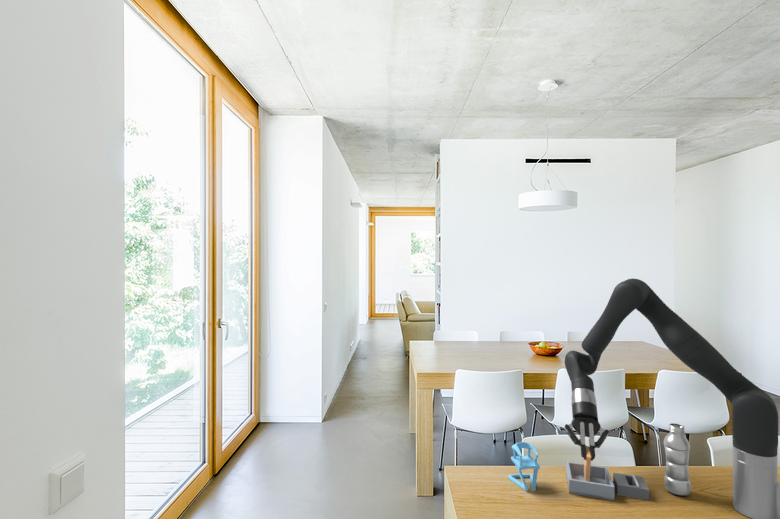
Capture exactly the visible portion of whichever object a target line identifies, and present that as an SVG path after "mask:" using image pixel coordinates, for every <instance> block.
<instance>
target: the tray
mask: <svg viewBox="0 0 780 519" xmlns="http://www.w3.org/2000/svg"><path fill="white" fill-rule="evenodd" d="M565 476H566V482H567V487H568V488H567V489H568V493H569V494H572V495H578V496H584V497H590V498H595V499H601V500H606V501H612V502H615V486H614V483H613V478H612V477H611V473H610V471H609V469H608V467H607V466H601V465H595V464H591V468H590V482H588V481H585V477H584V463H581V462H576V461H575V462H574V461H568V460H566V461H565Z"/></svg>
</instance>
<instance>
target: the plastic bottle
mask: <svg viewBox="0 0 780 519" xmlns="http://www.w3.org/2000/svg"><path fill="white" fill-rule="evenodd" d="M668 427H669V428H668V431H669V433H667V434H666V435H665V437H664V438H663V446H664V452H665V453H664V454H665V465H666V466H665V474H664V477H663V478H664V479H663V483H664V487H665V488H666V490H667V491H668V492H670V493H671V494H674V495H675V496H682V497H687V496H688V495H690V493H691V491H692V485H691V480H690V474H689V471H690V470H689V460H690V459H689V458H690V454H691V453H690V452H691V444H690V442H689V440H688V438H687V437H686V436H685V434H686V431H685V430H686V429H685V425H682V424H679V423H675V422H673V423H671V422H670V423H669V426H668Z"/></svg>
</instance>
